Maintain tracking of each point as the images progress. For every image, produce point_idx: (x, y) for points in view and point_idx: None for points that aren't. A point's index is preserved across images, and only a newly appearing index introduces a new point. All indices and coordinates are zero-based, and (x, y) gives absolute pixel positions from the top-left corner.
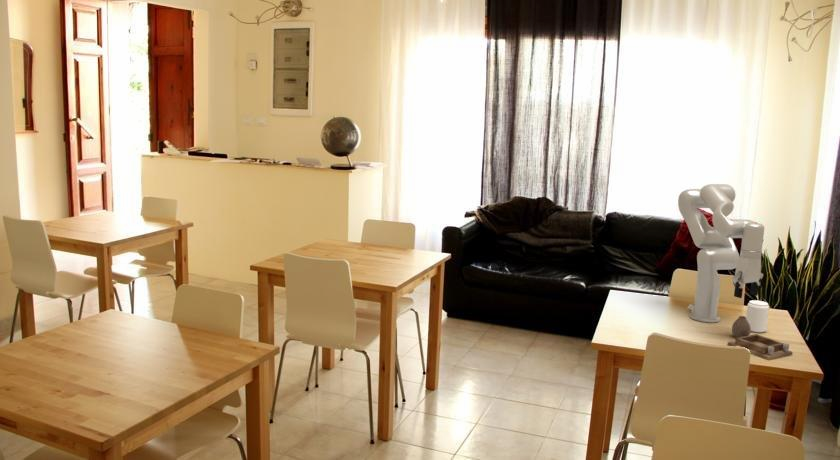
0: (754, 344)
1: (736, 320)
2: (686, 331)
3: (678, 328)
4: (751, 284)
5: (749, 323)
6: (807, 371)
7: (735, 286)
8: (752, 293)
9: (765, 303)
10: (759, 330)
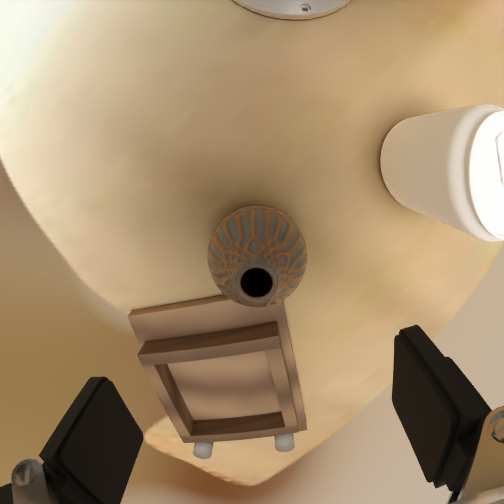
0: (170, 417)
1: (224, 256)
2: (66, 125)
3: (62, 85)
4: (465, 423)
5: (393, 168)
6: (239, 484)
7: (31, 477)
8: (397, 372)
9: None
10: (408, 208)
